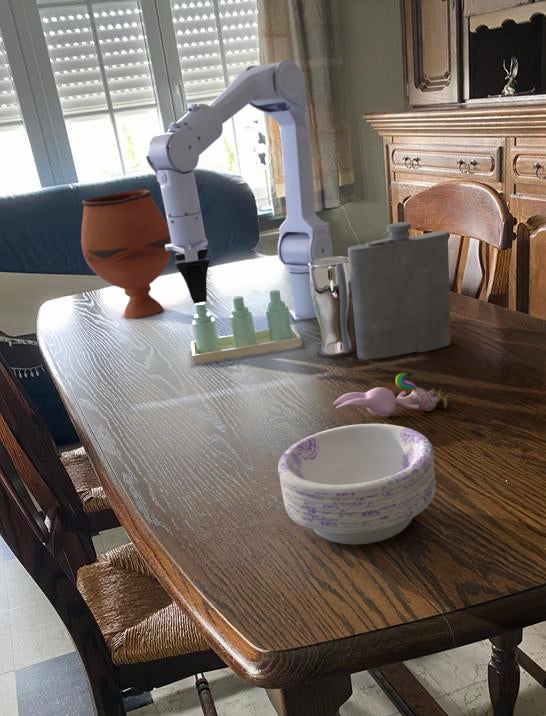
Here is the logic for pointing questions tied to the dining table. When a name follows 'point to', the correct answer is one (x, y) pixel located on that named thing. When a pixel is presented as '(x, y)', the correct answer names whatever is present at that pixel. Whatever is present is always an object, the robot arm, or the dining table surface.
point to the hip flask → (400, 293)
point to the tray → (246, 347)
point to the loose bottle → (205, 330)
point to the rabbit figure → (392, 398)
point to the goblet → (127, 245)
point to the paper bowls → (358, 481)
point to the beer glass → (333, 303)
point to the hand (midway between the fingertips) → (199, 297)
